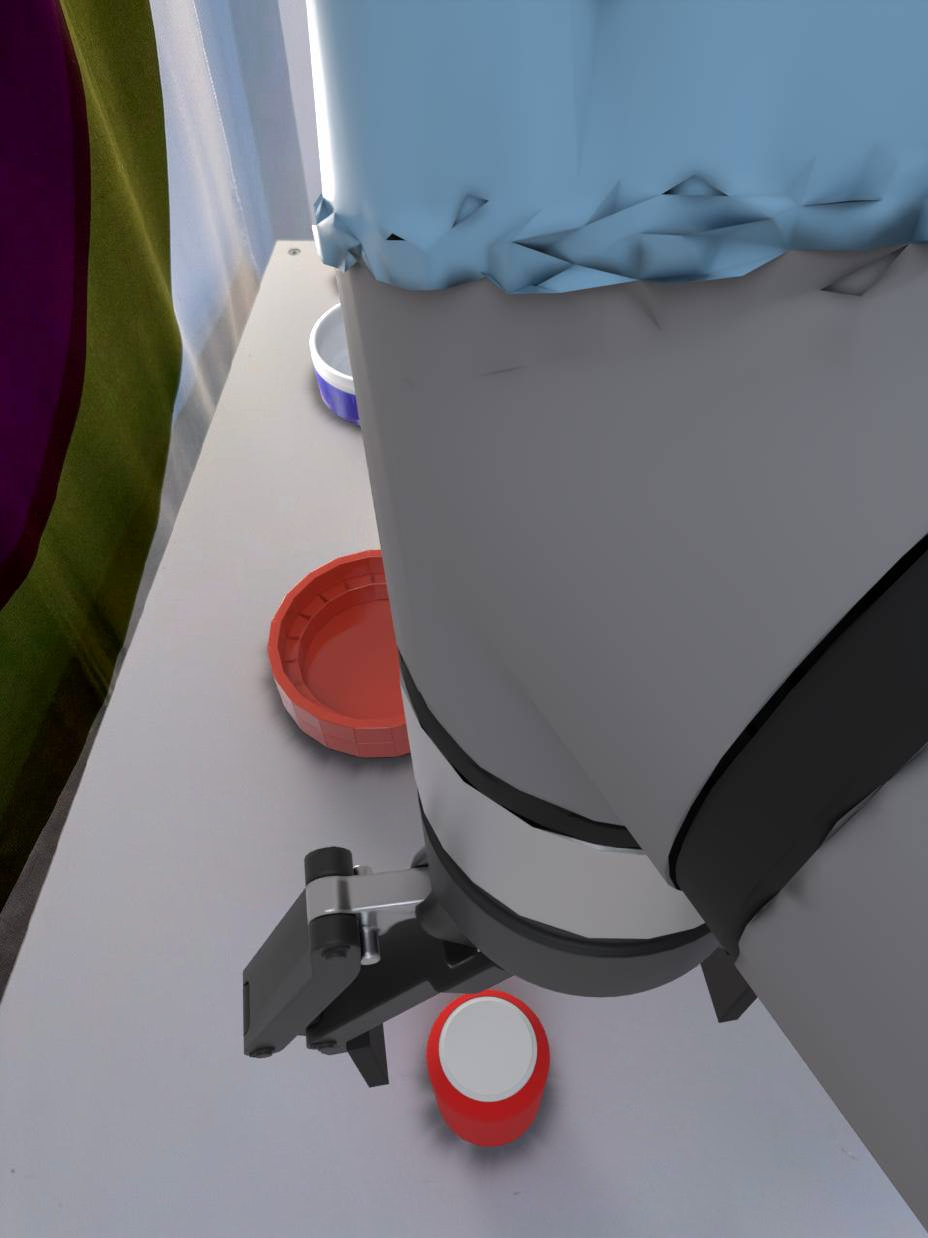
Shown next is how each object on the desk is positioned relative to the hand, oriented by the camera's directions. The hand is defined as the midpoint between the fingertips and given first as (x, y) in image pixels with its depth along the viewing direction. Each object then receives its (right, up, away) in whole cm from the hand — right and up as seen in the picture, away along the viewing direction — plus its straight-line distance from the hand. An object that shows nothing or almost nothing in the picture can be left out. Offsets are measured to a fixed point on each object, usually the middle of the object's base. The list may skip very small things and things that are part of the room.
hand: (548, 1016), depth 35 cm
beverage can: (-2, -13, +18) cm, 22 cm away
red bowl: (-10, +12, +36) cm, 39 cm away
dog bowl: (-11, +40, +58) cm, 71 cm away
